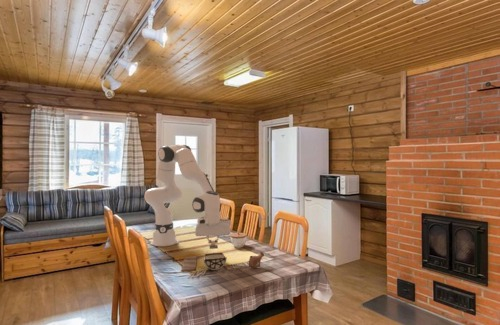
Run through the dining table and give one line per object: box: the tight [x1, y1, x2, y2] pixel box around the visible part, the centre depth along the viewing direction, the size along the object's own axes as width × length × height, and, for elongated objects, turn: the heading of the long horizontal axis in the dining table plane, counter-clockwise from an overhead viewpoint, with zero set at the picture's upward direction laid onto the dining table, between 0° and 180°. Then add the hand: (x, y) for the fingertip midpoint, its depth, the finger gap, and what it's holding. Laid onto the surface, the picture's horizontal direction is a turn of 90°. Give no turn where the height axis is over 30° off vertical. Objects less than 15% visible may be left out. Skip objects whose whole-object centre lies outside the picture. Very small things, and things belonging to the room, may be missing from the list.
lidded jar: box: [230, 231, 248, 249], centre depth 205 cm, size 11×11×9 cm
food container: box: [203, 252, 227, 271], centre depth 166 cm, size 12×6×10 cm
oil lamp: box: [248, 251, 265, 269], centre depth 165 cm, size 9×4×8 cm, turn 112°
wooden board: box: [180, 256, 198, 272], centre depth 171 cm, size 20×7×1 cm, turn 7°
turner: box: [208, 238, 219, 250], centre depth 178 cm, size 16×4×3 cm, turn 8°
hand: (213, 243), depth 180 cm, fingers closed on turner, 2 cm apart
